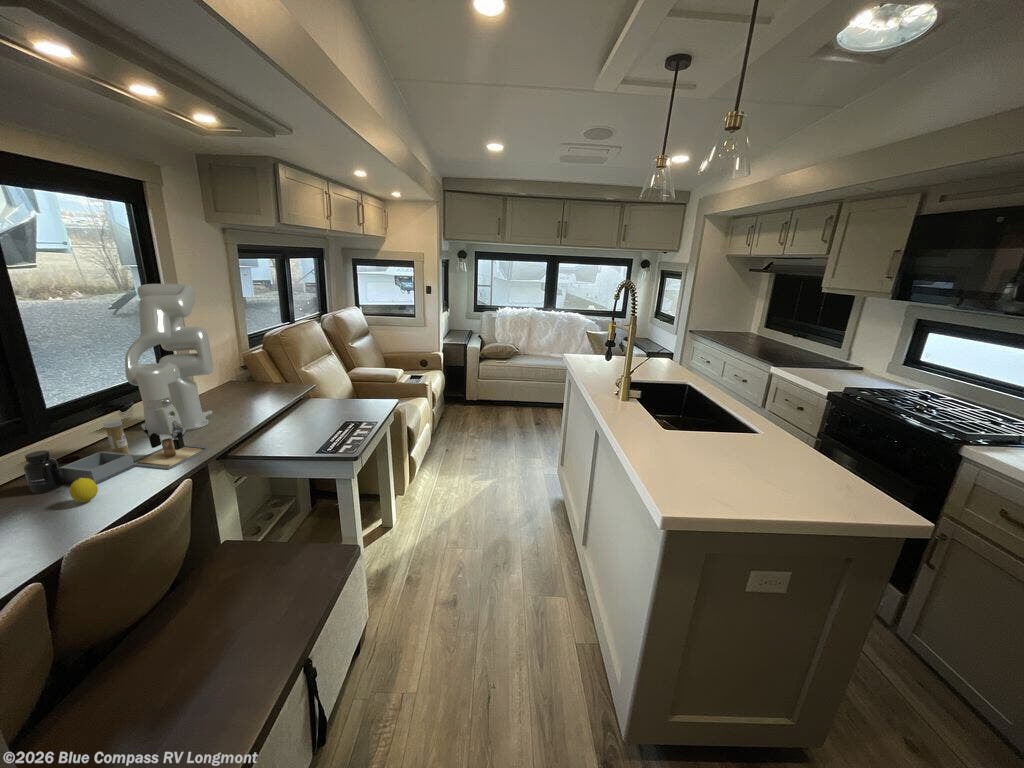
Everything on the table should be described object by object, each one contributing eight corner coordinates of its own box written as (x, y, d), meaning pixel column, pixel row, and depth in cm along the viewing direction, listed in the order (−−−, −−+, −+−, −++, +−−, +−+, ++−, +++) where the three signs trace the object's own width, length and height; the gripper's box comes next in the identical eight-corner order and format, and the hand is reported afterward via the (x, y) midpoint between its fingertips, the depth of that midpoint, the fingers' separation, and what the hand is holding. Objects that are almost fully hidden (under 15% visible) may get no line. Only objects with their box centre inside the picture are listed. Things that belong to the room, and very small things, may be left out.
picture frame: (172, 444, 155) (172, 443, 155) (211, 448, 153) (211, 447, 153) (126, 465, 139) (126, 464, 139) (168, 469, 137) (168, 468, 137)
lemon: (86, 497, 121) (78, 473, 118) (106, 496, 121) (98, 473, 119) (68, 507, 115) (60, 483, 113) (89, 507, 116) (81, 482, 113)
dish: (105, 464, 140) (101, 451, 138) (134, 467, 138) (131, 454, 137) (63, 481, 128) (59, 467, 127) (95, 485, 127) (91, 471, 125)
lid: (172, 448, 153) (168, 431, 151) (202, 451, 152) (198, 434, 150) (137, 464, 141) (132, 446, 139) (169, 468, 139) (165, 449, 137)
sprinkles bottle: (128, 455, 146) (119, 421, 142) (111, 458, 144) (101, 424, 140) (131, 450, 150) (122, 417, 146) (114, 453, 147) (105, 419, 143)
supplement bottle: (34, 496, 120) (21, 460, 117) (29, 489, 124) (16, 454, 120) (67, 486, 126) (55, 452, 122) (61, 480, 129) (49, 446, 126)
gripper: (189, 401, 142) (198, 445, 147) (147, 398, 145) (157, 441, 149) (168, 408, 135) (179, 453, 140) (125, 404, 138) (137, 449, 142)
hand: (168, 447), depth 145 cm, fingers open, 9 cm apart
